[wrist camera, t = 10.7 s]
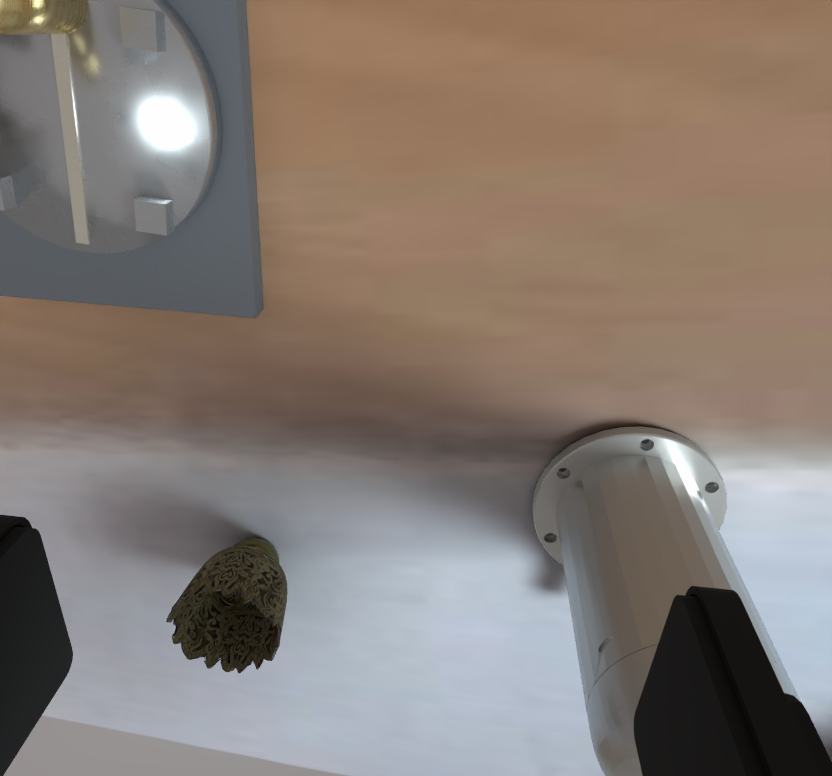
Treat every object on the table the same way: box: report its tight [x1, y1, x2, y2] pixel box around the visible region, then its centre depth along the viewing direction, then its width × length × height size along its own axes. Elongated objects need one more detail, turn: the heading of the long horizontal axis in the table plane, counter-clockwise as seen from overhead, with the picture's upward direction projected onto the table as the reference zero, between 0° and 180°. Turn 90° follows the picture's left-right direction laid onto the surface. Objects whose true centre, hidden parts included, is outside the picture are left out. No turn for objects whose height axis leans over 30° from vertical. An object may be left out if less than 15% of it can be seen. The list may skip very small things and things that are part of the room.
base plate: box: [0, 0, 263, 318], centre depth 35 cm, size 22×16×2 cm
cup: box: [166, 538, 287, 673], centre depth 47 cm, size 8×7×8 cm
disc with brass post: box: [0, 0, 223, 253], centre depth 30 cm, size 14×14×9 cm
